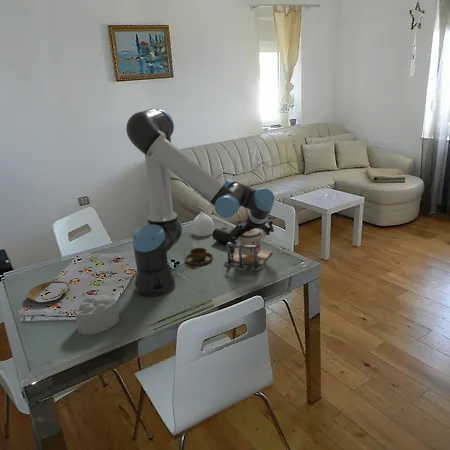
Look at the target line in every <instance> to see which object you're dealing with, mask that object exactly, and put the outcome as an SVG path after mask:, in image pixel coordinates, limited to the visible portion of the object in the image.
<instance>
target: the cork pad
mask: <svg viewBox="0 0 450 450" xmlns="http://www.w3.org/2000/svg"><path fill="white" fill-rule="evenodd" d="M272 254H273V251H272V250H264V249H261V251H260V253H259V254H257V261H258V265H260V266H261V267H262V266H263V265H264V264H265V262H266V261H267V260H268V259H269V258H270V256H271V255H272ZM267 258H268V259H267ZM266 259H267V260H266ZM231 261H233V262H234V263H235V264H239V251H238V252H236V253H235V255H233V258H232V259H231ZM242 263H243V264H242V265H249V264H250V266H253V265H255V261H254V255H244V254H242Z"/></svg>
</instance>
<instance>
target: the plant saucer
mask: <svg viewBox="0 0 450 450" xmlns="http://www.w3.org/2000/svg"><path fill="white" fill-rule="evenodd" d="M52 283H65V284H67V286H68V288H67V290H66V291H65V292H66V293H67V291H68V289H69V287H70V286H69V284H68V282H65V281H61V280H58V281H57V280H56V281H54V280H53V281H47V282H45V283H40V284H38V285H36V286H34V287H32V288H31V289H30V290H29V291H28V292H27V295H26V296H27V298H28V299H29V300H31V301H33V302H35V301H34V298H35V297H37V296H38V294H40V292H42V291H43V290H44V289H45V288H46V287H48V286H49V285H50V284H52ZM65 292H63V293H62V294H64V293H65ZM66 293H65V294H66ZM62 294H60V295H62ZM65 294H64V295H65ZM60 295H58V296H60ZM58 296H55V297H52V298H49V299H53V298H56V297H58ZM43 300H48V299H43Z"/></svg>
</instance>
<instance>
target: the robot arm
mask: <svg viewBox="0 0 450 450" xmlns="http://www.w3.org/2000/svg"><path fill="white" fill-rule="evenodd" d="M125 130H126V134H127V137H128V140H129V141H130V142H131V143H132V145H133V146H134V147H135V148H136V149H138V150H139V151H140V152H141V153H142V154H144V159H145V170H146V179H147V187H148V198H149V206H150V207H149V208H150V213H149V215H148V216H147V224H145V225H144V226H140V227H139V228H136V230H135V231H134V232H133V234H132V246H133V250H134V257H135V264H136V270H137V271H136V276H135V277H136V278H135V280H134V281H135V282H134V289H135V292H136V294H138V295H139V296H142V297H158V296H162V295H165V294H167V293H169V292H171V291H173V290H174V289H175V286H176V282H175V277H174V276H173V274H172V272H171V269H170V267H169V263H168V262H169V261H168V252H169V251H170V250H171V249H172V248H173V247H174V246H175V245H176V244H177V243H178V242H179V240H180V239H181V237H182V235H183V225H182V223H181V221H180V220H178V214H177V212H175V211H174V210H173V198H172V197H173V196H172V187H171V177H170V176H171V175H170V172H171V173H173V174H174V175H175V176H176V177H178V179H180V180H182V181H183V182H184V183H185V184H186V185H187V186H189V187H190V188H192V189H193V190H194V191H195V192H197V193H198V194H199V195H200V196H202V197H203V198H204V199H205V200H207V201H208V202H209V203H211V205H212V206H214V210H215V212H216V214H217V215H218V216H219V217H220V218H225V219H227V218H228V219H229V218H231V217H233V216H234V215H236V214H237V213H238V212H239V210H240V208H241V207H243V208H244V209H247V210H248V215H247V218H246V221H245V222H242V221H238V222H237V225H236V226H235V227H234V228H233V229H231V230H232V231H231V235H232V238H235V240H236V244H237V245H240V236H241V235H243V234H244V233H246V232H247V231H250V230H252V229H258V230H261V231H262V232H260V233H261V241H265V239H266V237H267V236H270V235H271V233H274V231H275V229H274V227H273V223H274V222H273V218H272V217H269V216H270V213H271V211H272V210H273V209H272V208H273V206H274V205H275V204H274V203H275V199H276V198H275V194H274V192H273V191H272V190H271V189H269V188H265V187H262V188H258V189H254V188H252V187H250V186H248V185H245V184H243V183H241V182H239V181H237V180H233V179H231V178H228V179H226V180H224V182H223V183H222V182H221V181H220V180H218V179H217V178H215V177H214V176H213V175H212V174H211V173H210V172H208V171H207V170H206V169H204V168H203V167H202V166H201V165H199V163H197V162H196V161H194V160H193V159H192V158H190V157H189V156H188V155H187V154H186V153H185V152H183V151H182V150H180V148H178V147H177V146H176V145H175V144H174V143H172V137H171V136H172V135H173V134H174V130H175V124H174V120H173V118H172V116H171V115H170V114H169V113H168V112H167V111H166V110H163V109H160V108H149V109H146V110H143V111H139V112H138V111H137V112H136V113H133V114H132V115H131V116H130V117H129V119H128V120H127V122H126V129H125ZM266 224H267V225H268V226H267V225H266ZM270 232H271V233H270Z"/></svg>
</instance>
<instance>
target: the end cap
mask: <svg viewBox="0 0 450 450" xmlns="http://www.w3.org/2000/svg"><path fill="white" fill-rule="evenodd" d="M228 229H229V228H228V227H226V226H225V227H221V228H217V227H216V228H214V231H213V234H212V239H213V240H214V241H216V242H218V243H221V244H224V245H227V243H228V242H230V243H234V244H235V243H236V240H235V238H232V235H231V231H232V230H233V229H230V230H228ZM236 244H237V243H236Z"/></svg>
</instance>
